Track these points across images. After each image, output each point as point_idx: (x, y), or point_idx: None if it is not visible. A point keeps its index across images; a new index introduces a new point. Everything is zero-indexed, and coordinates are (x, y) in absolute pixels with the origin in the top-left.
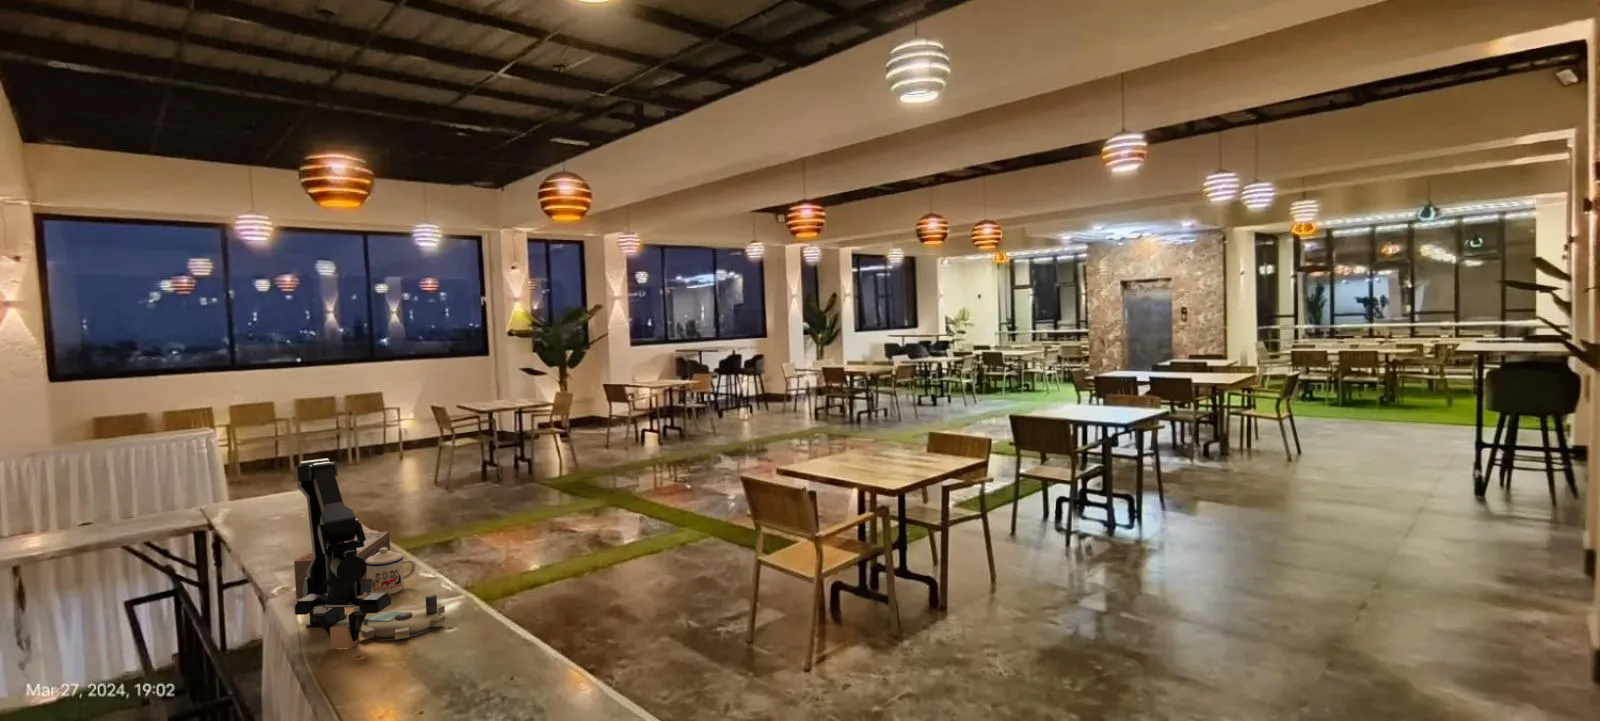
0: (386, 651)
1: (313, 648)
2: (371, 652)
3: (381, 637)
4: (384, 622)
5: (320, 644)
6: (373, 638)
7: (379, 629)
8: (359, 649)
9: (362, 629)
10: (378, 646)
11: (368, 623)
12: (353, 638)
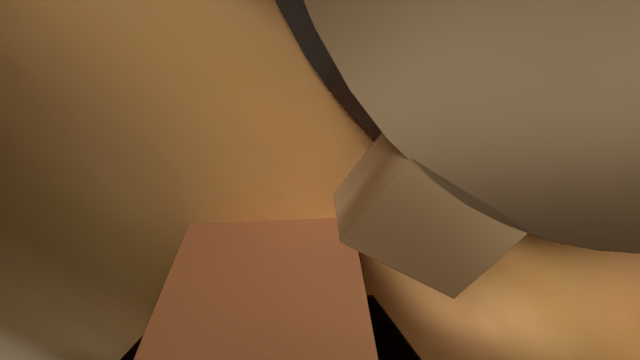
0: (632, 342)
1: (55, 324)
2: (534, 355)
3: None
4: (607, 3)
5: (34, 269)
6: None
7: (590, 242)
8: (430, 326)
9: (372, 241)
10: (555, 287)
11: (336, 40)
12: None
